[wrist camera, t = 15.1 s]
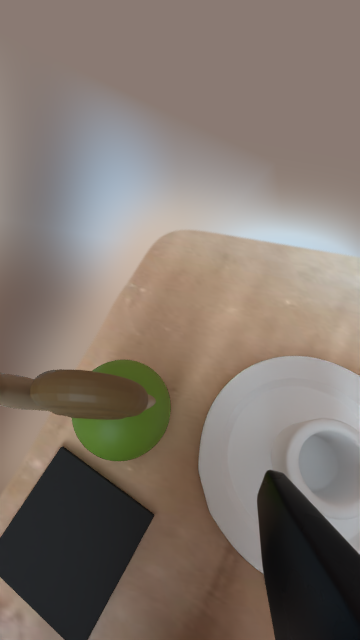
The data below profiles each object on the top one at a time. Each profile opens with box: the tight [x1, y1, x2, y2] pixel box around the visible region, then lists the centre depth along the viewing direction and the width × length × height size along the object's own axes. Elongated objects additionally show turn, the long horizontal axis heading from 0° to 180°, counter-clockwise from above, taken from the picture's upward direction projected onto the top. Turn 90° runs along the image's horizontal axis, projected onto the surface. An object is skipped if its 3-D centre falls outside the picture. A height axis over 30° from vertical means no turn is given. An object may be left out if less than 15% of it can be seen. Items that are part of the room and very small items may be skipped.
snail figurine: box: [0, 360, 171, 461], centre depth 14 cm, size 5×6×12 cm
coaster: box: [0, 447, 154, 640], centre depth 17 cm, size 7×7×1 cm
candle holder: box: [198, 356, 360, 574], centre depth 16 cm, size 12×12×4 cm
